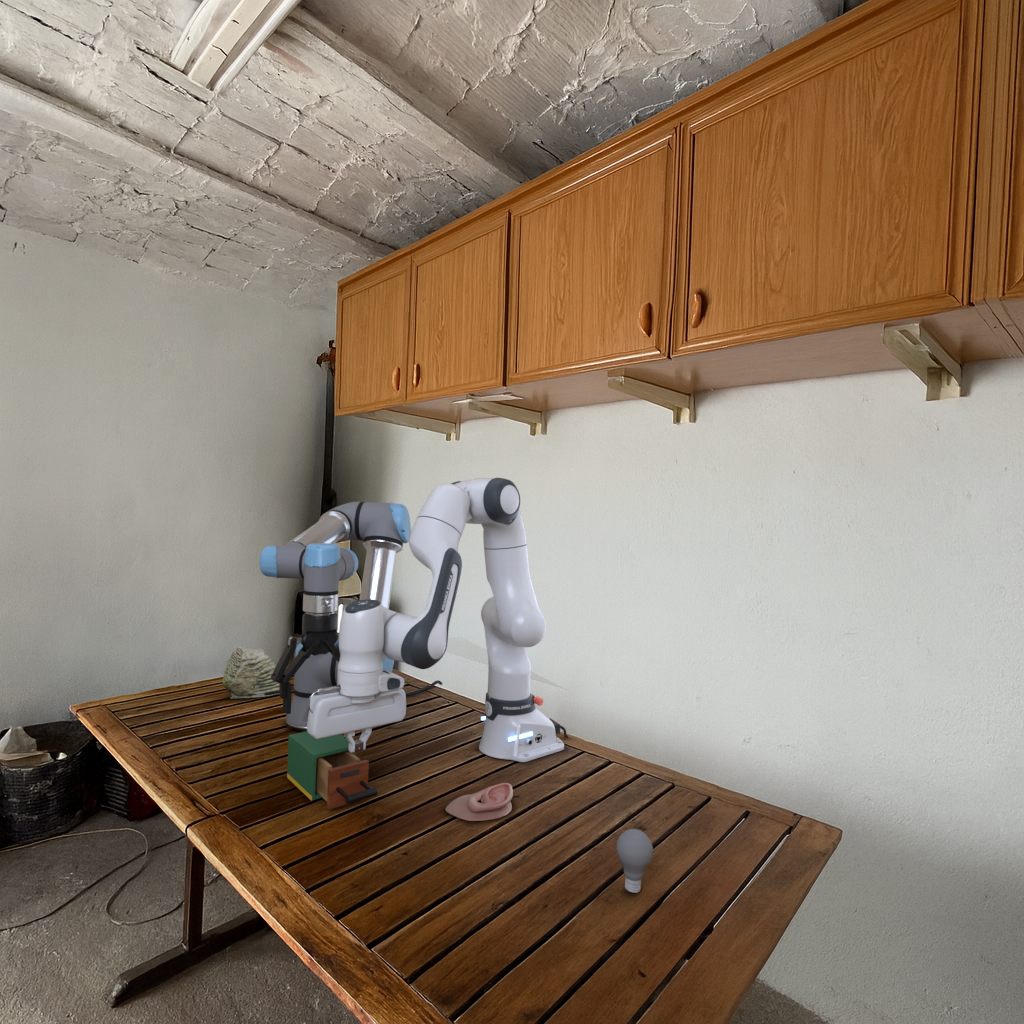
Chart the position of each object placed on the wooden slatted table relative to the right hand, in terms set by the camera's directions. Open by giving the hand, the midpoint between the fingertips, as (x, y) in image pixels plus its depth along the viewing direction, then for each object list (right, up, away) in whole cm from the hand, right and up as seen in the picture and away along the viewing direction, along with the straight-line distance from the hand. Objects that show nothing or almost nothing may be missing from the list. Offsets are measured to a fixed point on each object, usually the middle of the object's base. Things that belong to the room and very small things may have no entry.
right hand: (356, 750), depth 127 cm
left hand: (-13, +4, +15) cm, 20 cm away
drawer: (-4, -12, +5) cm, 13 cm away
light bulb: (+51, -16, -22) cm, 58 cm away
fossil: (-49, -9, +71) cm, 87 cm away
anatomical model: (+24, -14, +4) cm, 28 cm away
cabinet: (-11, -12, +13) cm, 21 cm away
